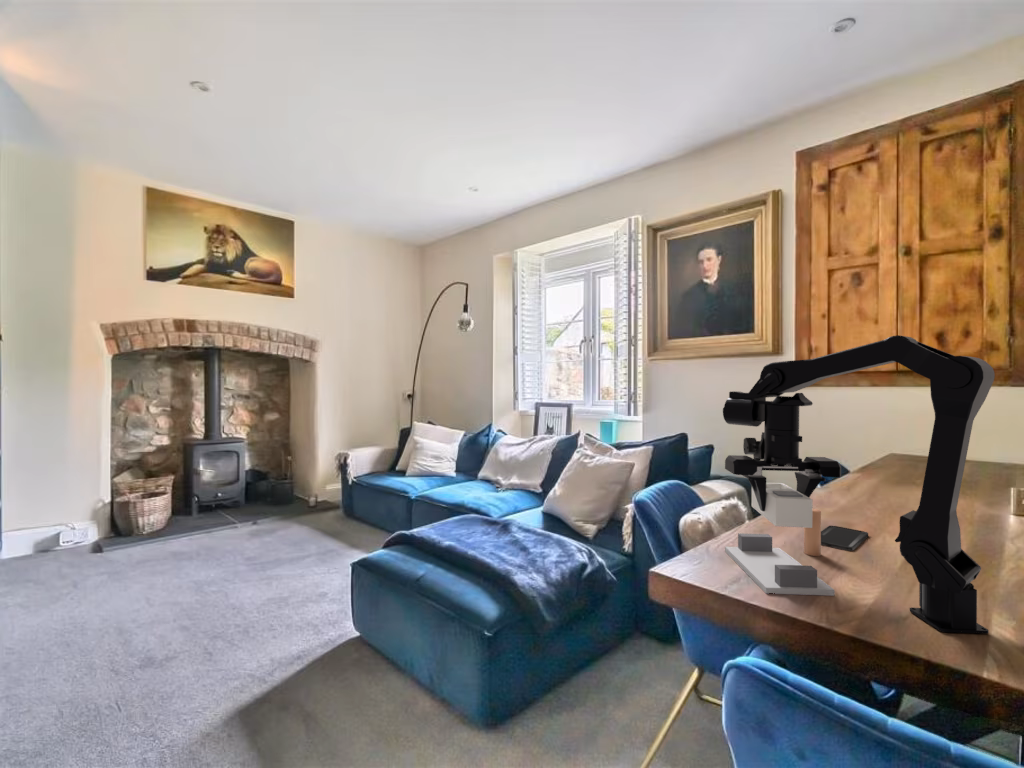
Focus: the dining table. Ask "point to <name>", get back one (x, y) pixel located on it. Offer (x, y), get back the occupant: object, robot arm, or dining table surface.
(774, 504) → the white socket block
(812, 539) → the orange-brown tapered capsule
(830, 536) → the phone
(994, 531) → the dining table surface
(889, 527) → the dining table surface
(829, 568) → the dining table surface
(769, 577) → the board
